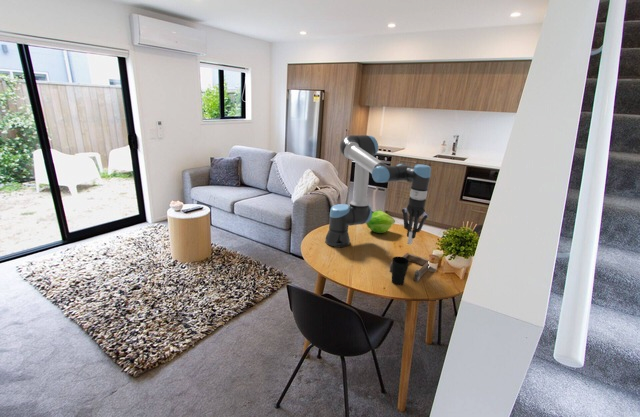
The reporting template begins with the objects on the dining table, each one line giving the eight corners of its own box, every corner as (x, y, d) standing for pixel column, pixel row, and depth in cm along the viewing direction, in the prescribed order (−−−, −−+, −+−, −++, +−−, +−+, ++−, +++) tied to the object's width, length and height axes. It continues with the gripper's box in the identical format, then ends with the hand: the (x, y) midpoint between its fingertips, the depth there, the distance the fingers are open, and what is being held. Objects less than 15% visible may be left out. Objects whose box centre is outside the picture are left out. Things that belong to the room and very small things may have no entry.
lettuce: (398, 235, 209) (399, 218, 201) (369, 239, 207) (369, 223, 200) (390, 222, 221) (392, 206, 213) (363, 226, 219) (363, 210, 212)
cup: (403, 288, 145) (406, 265, 142) (387, 283, 149) (390, 260, 145) (407, 281, 152) (410, 259, 148) (392, 276, 155) (395, 254, 152)
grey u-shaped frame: (389, 271, 160) (390, 262, 159) (405, 258, 176) (406, 250, 174) (417, 281, 152) (419, 272, 150) (431, 267, 167) (433, 258, 166)
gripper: (401, 196, 146) (394, 241, 154) (428, 202, 139) (419, 250, 147) (407, 193, 152) (400, 237, 160) (434, 199, 145) (425, 245, 153)
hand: (409, 243), depth 153 cm, fingers closed
